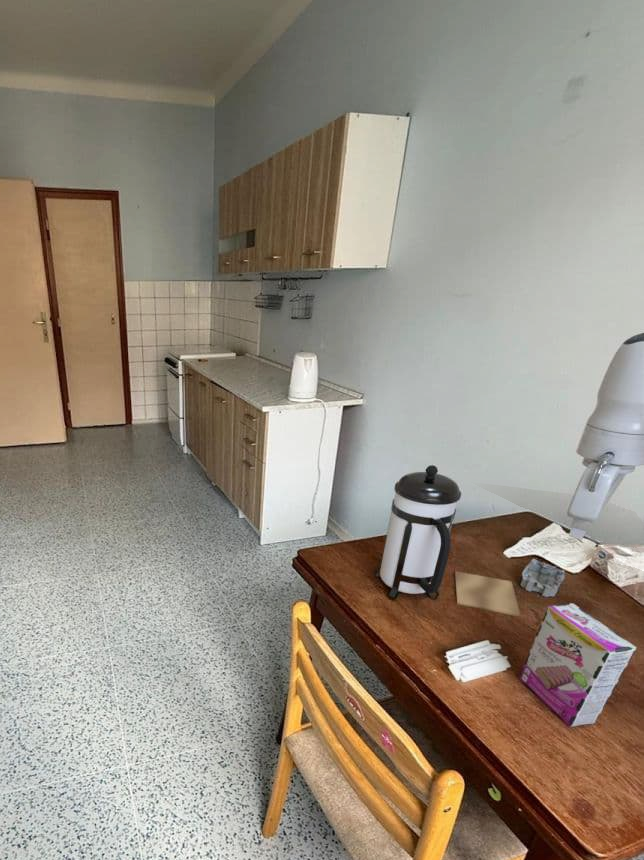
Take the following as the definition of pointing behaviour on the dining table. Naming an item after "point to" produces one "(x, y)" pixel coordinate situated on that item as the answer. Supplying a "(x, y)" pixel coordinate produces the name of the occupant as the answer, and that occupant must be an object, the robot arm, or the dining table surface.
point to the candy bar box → (575, 664)
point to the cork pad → (486, 593)
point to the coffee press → (419, 533)
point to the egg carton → (542, 578)
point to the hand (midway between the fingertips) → (582, 527)
